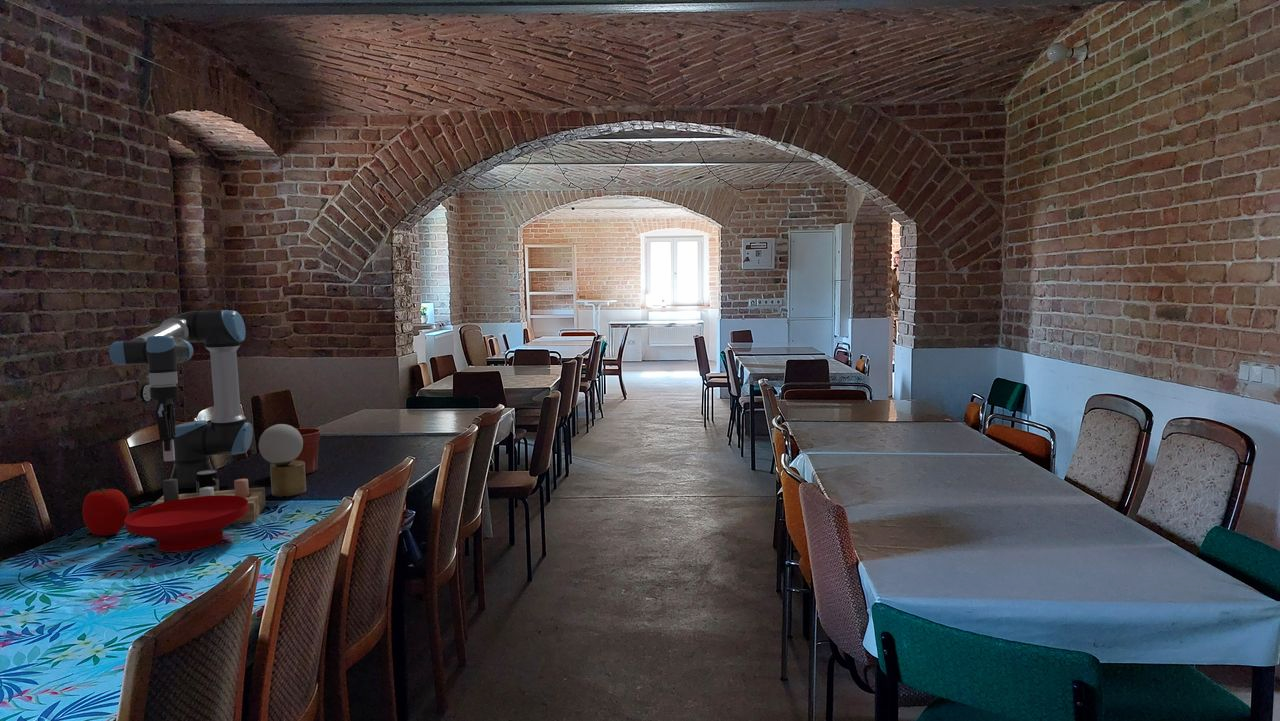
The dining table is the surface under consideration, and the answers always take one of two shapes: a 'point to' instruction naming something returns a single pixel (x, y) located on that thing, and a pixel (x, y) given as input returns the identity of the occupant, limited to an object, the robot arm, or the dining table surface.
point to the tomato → (105, 511)
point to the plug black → (170, 490)
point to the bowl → (187, 521)
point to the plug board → (254, 500)
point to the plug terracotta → (241, 488)
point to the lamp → (284, 459)
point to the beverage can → (207, 480)
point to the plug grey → (206, 491)
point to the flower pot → (309, 448)
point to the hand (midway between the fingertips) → (169, 460)
